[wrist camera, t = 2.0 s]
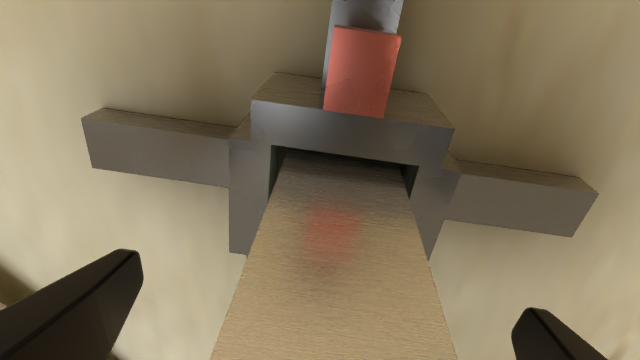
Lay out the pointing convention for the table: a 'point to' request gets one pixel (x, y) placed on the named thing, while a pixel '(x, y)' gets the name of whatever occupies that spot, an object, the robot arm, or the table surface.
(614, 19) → the table surface
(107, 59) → the table surface
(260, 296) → the column
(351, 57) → the stand
